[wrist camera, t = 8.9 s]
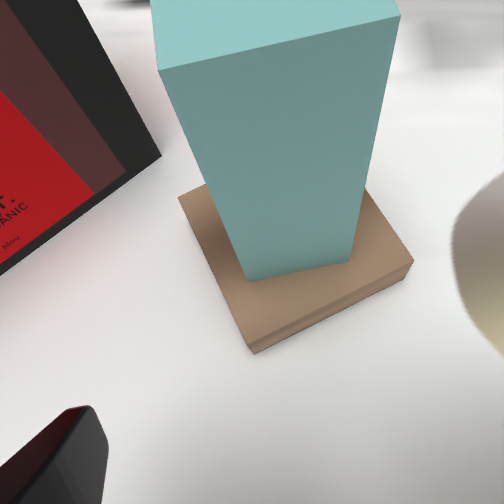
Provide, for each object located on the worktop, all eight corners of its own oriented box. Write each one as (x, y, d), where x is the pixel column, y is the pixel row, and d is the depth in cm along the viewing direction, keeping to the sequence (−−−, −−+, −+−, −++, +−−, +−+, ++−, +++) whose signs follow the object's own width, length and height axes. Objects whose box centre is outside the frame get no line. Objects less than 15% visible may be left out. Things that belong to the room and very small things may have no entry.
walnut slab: (403, 278, 21) (414, 260, 19) (253, 354, 21) (246, 344, 19) (322, 156, 25) (323, 127, 22) (190, 220, 24) (177, 197, 22)
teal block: (348, 261, 20) (401, 14, 8) (247, 281, 20) (157, 70, 8) (325, 174, 21) (340, -130, 10) (232, 194, 22) (141, -81, 10)
